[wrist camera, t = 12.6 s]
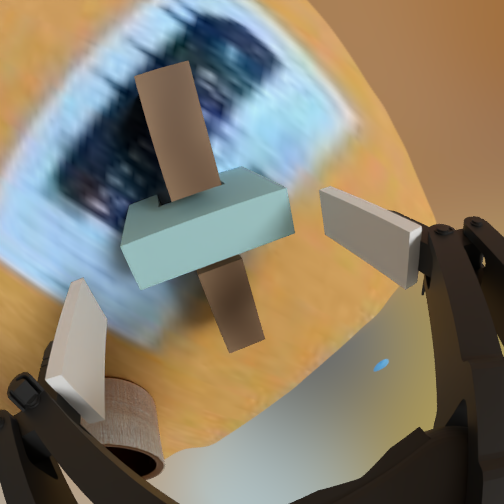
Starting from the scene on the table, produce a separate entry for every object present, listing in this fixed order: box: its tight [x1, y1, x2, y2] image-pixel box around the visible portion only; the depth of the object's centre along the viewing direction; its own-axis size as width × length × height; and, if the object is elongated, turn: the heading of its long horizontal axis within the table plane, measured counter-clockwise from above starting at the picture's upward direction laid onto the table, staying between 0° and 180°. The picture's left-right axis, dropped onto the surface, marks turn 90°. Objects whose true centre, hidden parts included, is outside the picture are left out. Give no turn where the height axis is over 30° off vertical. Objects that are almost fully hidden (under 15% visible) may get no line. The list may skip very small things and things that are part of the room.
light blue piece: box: [120, 166, 295, 290], centre depth 21 cm, size 10×3×9 cm, turn 103°
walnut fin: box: [134, 61, 265, 353], centre depth 21 cm, size 3×20×8 cm, turn 13°
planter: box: [80, 377, 165, 480], centre depth 27 cm, size 11×11×10 cm
